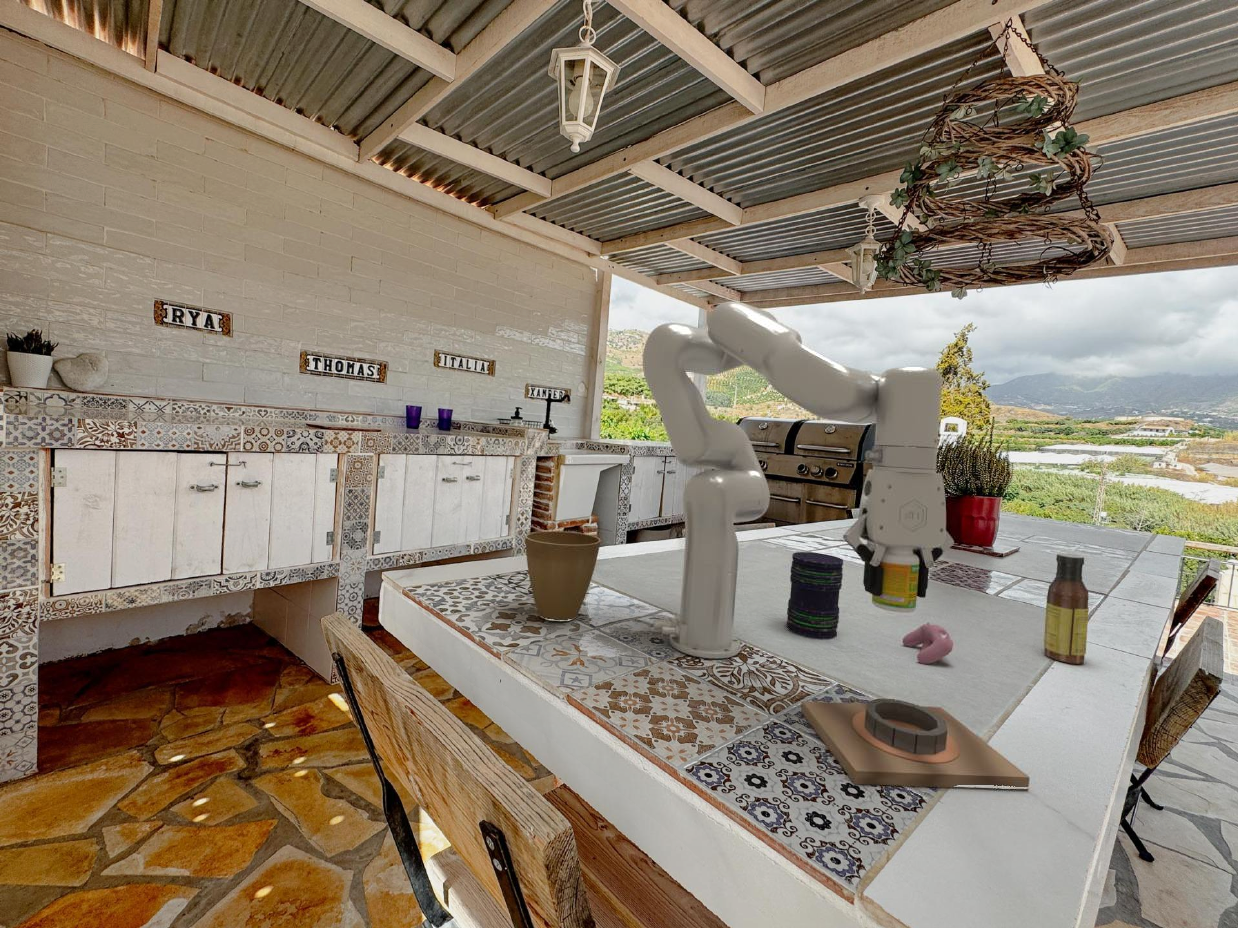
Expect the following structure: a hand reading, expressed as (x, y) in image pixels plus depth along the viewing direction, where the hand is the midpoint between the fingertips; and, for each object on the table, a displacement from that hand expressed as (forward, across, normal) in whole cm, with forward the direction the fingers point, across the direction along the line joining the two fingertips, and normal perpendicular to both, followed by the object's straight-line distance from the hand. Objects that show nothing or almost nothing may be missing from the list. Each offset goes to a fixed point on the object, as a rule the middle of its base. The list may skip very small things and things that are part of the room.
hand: (894, 592), depth 75 cm
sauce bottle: (+18, +50, +26) cm, 59 cm away
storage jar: (+18, +5, +36) cm, 40 cm away
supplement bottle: (+2, 0, 0) cm, 2 cm away
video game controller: (+18, +22, +25) cm, 38 cm away
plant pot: (+17, -46, +38) cm, 62 cm away
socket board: (+18, -1, -6) cm, 19 cm away
